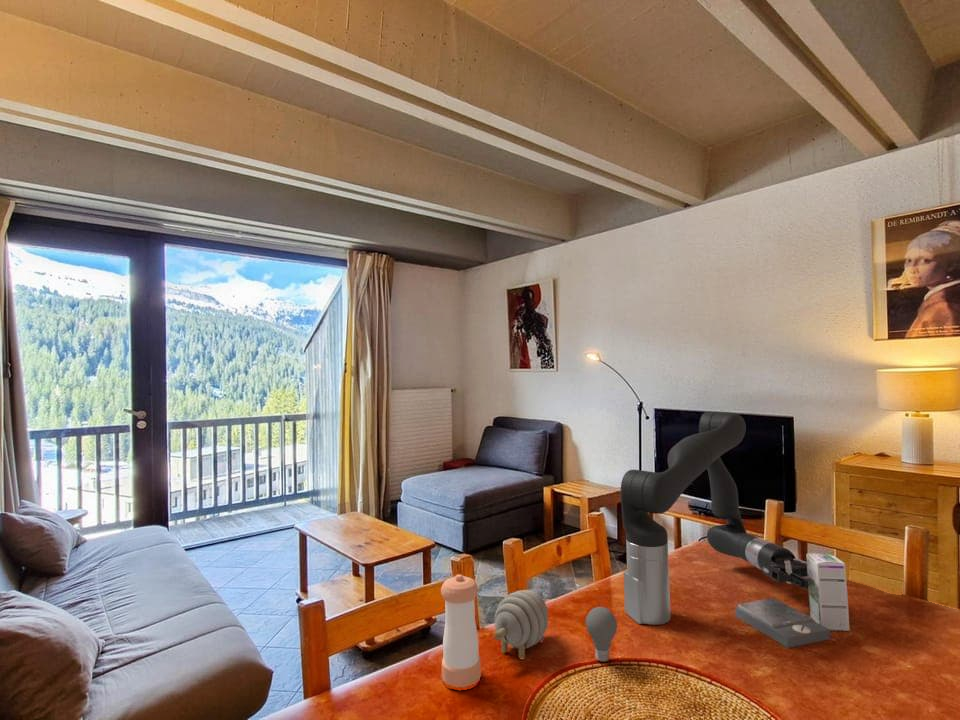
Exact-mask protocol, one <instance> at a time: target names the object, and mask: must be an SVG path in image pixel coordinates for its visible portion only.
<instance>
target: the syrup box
mask: <svg viewBox="0 0 960 720" xmlns="http://www.w3.org/2000/svg"><path fill="white" fill-rule="evenodd" d="M806 562H807V575H808V578H807V580H808V589H807V590H808V603H809V604H808V605H809V607H808V608H809V617H811V620H812V621H814V622H816V623H818V624H820V625H822V626H824V627H826V628H828V629H830V631H838V630H839V631H840V632H843V631H845V632H850V614H849V599H848V586H847V572H846V571H847V570H846V563H845V562H843V561H842V560H841V559H839V558H838V557H836V556H835V555H833V554H830V553H822V552H821V553H819V552H816V553H814V552H813V553H806ZM841 630H842V631H841ZM839 631H838V632H839Z"/></svg>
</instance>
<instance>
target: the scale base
mask: <svg viewBox="0 0 960 720" xmlns="http://www.w3.org/2000/svg"><path fill="white" fill-rule="evenodd" d="M734 613H735V617H736V618H738V619H740V620H741V621H743V622H744V623H746V624H747V625H749V626H751V627H753V628H754V629H756V630H758V631H759V632H761V633H762V634H764V635H765V636H767V637H769V638H771V640H773V641H776V643H779V644H780V645H782V646H783V647H785V648H787V649H789V648H793V647H794V648H795V647H800V646H804V645H810V644H813V643H819V642H824V641H828V640H829V641H830V640H831V630H830V629H828V628H826V627H824V626H822V625H820V624H818V623H816V622H815V621H814V620H813V619H811V621H807V622H802V623H796V624H791V625H786V626H780V627H775V628H772V627H770V626H769V625H767V624H765V623H764V622H762V621H760V620H759V619H757V618H755V617H753V616H752V615H750V614H748V613H747V612H745V611H743V610H742V609H740V608H738V606H735V610H734Z"/></svg>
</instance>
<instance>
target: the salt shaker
mask: <svg viewBox="0 0 960 720" xmlns="http://www.w3.org/2000/svg"><path fill="white" fill-rule="evenodd" d="M440 594H441V597H442V599H443V600H444V601H445V609H444V610H445V613H444V615H445V622H444V631H443V639H442V648H443V657H442V661H441V680H442V679H443V681H445V683H447V684H449V685H451V686H455V687H466V686H470V685H472V684H475V683H476V682H477V681H478V680H479V679H480V677H481V678H482V669H481V668H482V666H481V664H482V661H481V657H480V655H479V636H478V630H477V623H476V617H475V615H476V613H475V612H476V611H475V599H476V598H477V596H478V594H479V587H478V584H477V583H476V581H475V579H474V578H472V577H469V576H464V575H463V574H460V573H458V574H456V575H455V576H453V577H450V578H447V579H446V580H445V581H444V582H443V583H442V585H441V588H440Z"/></svg>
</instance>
